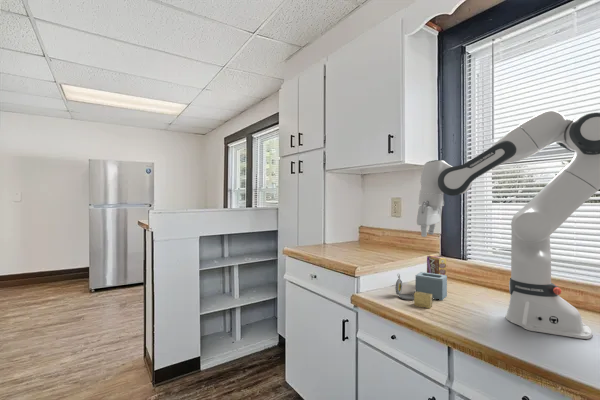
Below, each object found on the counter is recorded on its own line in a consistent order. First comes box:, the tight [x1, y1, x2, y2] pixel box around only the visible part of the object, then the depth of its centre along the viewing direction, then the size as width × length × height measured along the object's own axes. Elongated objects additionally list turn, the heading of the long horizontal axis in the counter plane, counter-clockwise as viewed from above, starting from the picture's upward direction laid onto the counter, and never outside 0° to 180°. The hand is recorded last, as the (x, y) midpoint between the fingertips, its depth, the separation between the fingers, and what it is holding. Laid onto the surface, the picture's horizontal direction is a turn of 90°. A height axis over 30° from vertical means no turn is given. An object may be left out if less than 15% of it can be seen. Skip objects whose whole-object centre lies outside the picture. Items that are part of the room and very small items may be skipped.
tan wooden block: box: [413, 290, 433, 309], centre depth 122 cm, size 6×3×5 cm, turn 52°
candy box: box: [426, 254, 447, 275], centre depth 146 cm, size 9×4×15 cm, turn 13°
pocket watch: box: [394, 273, 414, 301], centre depth 133 cm, size 8×8×10 cm
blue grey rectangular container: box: [415, 271, 448, 301], centre depth 135 cm, size 11×8×9 cm
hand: (427, 235), depth 124 cm, fingers open, 8 cm apart
